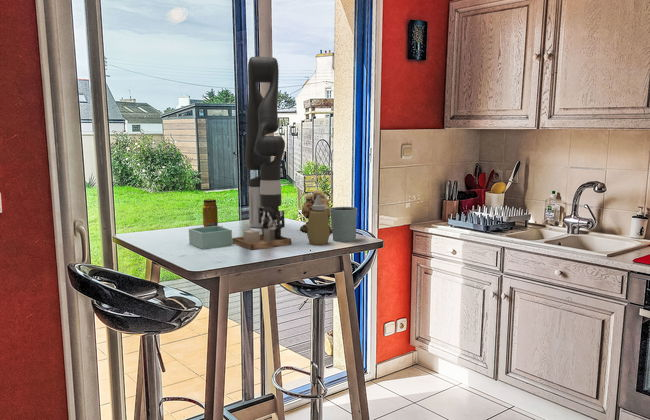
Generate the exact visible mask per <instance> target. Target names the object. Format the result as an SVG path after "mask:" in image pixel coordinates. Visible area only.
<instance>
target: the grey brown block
mask: <svg viewBox="0 0 650 420" xmlns="http://www.w3.org/2000/svg"><path fill="white" fill-rule="evenodd" d="M274 229H275V228H274V227H268V228H266V229H264V242H269V241H276V239H275V238H274ZM278 240H279V239H278Z"/></svg>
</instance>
